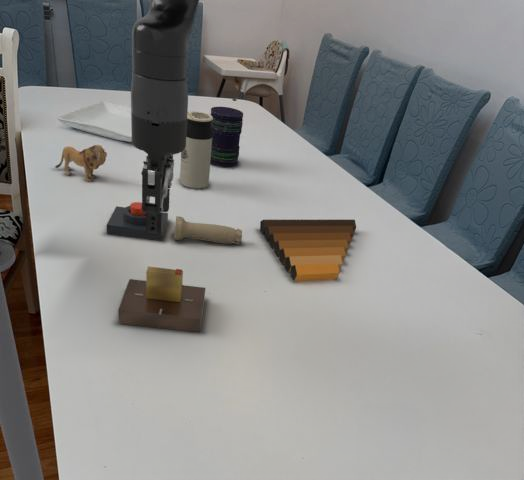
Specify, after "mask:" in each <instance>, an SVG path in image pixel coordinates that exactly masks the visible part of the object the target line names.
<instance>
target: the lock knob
mask: <svg viewBox="0 0 524 480" xmlns="http://www.w3.org/2000/svg"><path fill="white" fill-rule="evenodd" d="M145 271H146V273H145V276H146V277H145V278H146V279H145V281H146V298H147V299H156V300H165V301H174V302H181V297H182V285H183V279H184V270H183V269H182V268H181V269H180V268H175V269H173V268H167V267H166V268H165V267H156V266H148V265H147V269H146V270H145Z"/></svg>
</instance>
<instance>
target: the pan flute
mask: <svg viewBox="0 0 524 480" xmlns="http://www.w3.org/2000/svg"><path fill="white" fill-rule="evenodd" d="M356 229H357V224H356V219H262V220H260V222H259V232H260V233H261V234H262V236H264V239H265V240H266V242H268V244H269V247H270V248H271V249H272V250H273V252H274V255H276V257H277V258H278V257H279V261H280V263H281V265H284V269H285V270H286V272H287V273H289V274H290V278H291V279H292V281H293V282H313V281H315V282H316V281H334V280H337V279H338V276H339V275H340V271H341V269H342V267H343V266H344V265H343V264H344V260H345V258H346V257H347V253H348V251H349V249H350V247H349V246H350V245H351V243H352V239H353V237H354V235H355V232H356Z"/></svg>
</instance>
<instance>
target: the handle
mask: <svg viewBox="0 0 524 480" xmlns="http://www.w3.org/2000/svg"><path fill="white" fill-rule="evenodd" d="M173 236H174V237H173V238H174V240H176V241H181V240H182V239H183V238H192V239H197V240H201V241H208V242H212V243H221V244H235V245H236V244H237V245H239V244H241V243H242V239H243V230H242V229H240V228H236V229H235V228H234V227H231V226H226V225H221V224H212V223H200V222H190V221H186V220H185V218H184V217H183V216H179V215H177V216H175V224H174V235H173Z"/></svg>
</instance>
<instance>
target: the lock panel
mask: <svg viewBox="0 0 524 480" xmlns="http://www.w3.org/2000/svg"><path fill="white" fill-rule="evenodd" d="M121 298H122V299H121V301H120V304H119V307H118V309H117V311H118V312H117V313H118V324H119V325H128V326H136V327H137V326H139V327H147V328H156V329H165V330H173V331H174V330H175V331H184V332H195V333H201V329H202V321H203V316H204V315H203V314H204V306H205V298H206V287H203V286H193V285H186V284H182V297H181V302H174V301H165V300H156V299H147V298H146V280H142V279H134V278H129V279H128V282H127V284H126V287H125V290H124V293H123V295H122V297H121Z"/></svg>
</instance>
